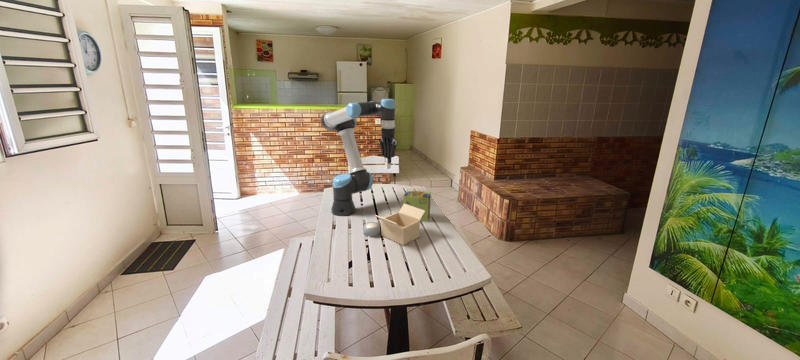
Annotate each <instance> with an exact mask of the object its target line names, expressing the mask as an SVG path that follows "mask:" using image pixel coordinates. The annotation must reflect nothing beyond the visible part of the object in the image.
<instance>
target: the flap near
mask: <svg viewBox="0 0 800 360" xmlns="http://www.w3.org/2000/svg"><path fill="white" fill-rule="evenodd" d="M374 216H375V217H376V218H378V220H380V221H381V220H382V221H384V222H387V223H389V224H392V225H394V226H396V227H399V228H401V229H402V227H401V226H399V225H398V224H397V223H395V222H392V221H390V220H387V219H385V217H383V216H379V215H376V214H375V215H374Z"/></svg>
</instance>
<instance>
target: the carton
mask: <svg viewBox="0 0 800 360" xmlns="http://www.w3.org/2000/svg"><path fill="white" fill-rule="evenodd" d="M384 218H385V219H387V220H390V221H392V222H395V223H397V224H398V225H399V226H401V227H402V229H401V228H399V227H396V226H394V225H392V224H389V223H387V222H384V221H382V220H380V221H381V224H380V235H381V237H383V238H385V239H388V240H390V241H392V242H394V243H396V244H399V245H401V246H406V245H408V244H410V243H411V242H413V241H416V240H417V239H419V238H420V227H421V226H420V225H421V223H420V222H421V221H420V220H417V219H415V218H412V217H409V216H407V215H404V214H402V213H399V211H398V212H395V213H392V214H389V215H387V216H385V217H384Z"/></svg>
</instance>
